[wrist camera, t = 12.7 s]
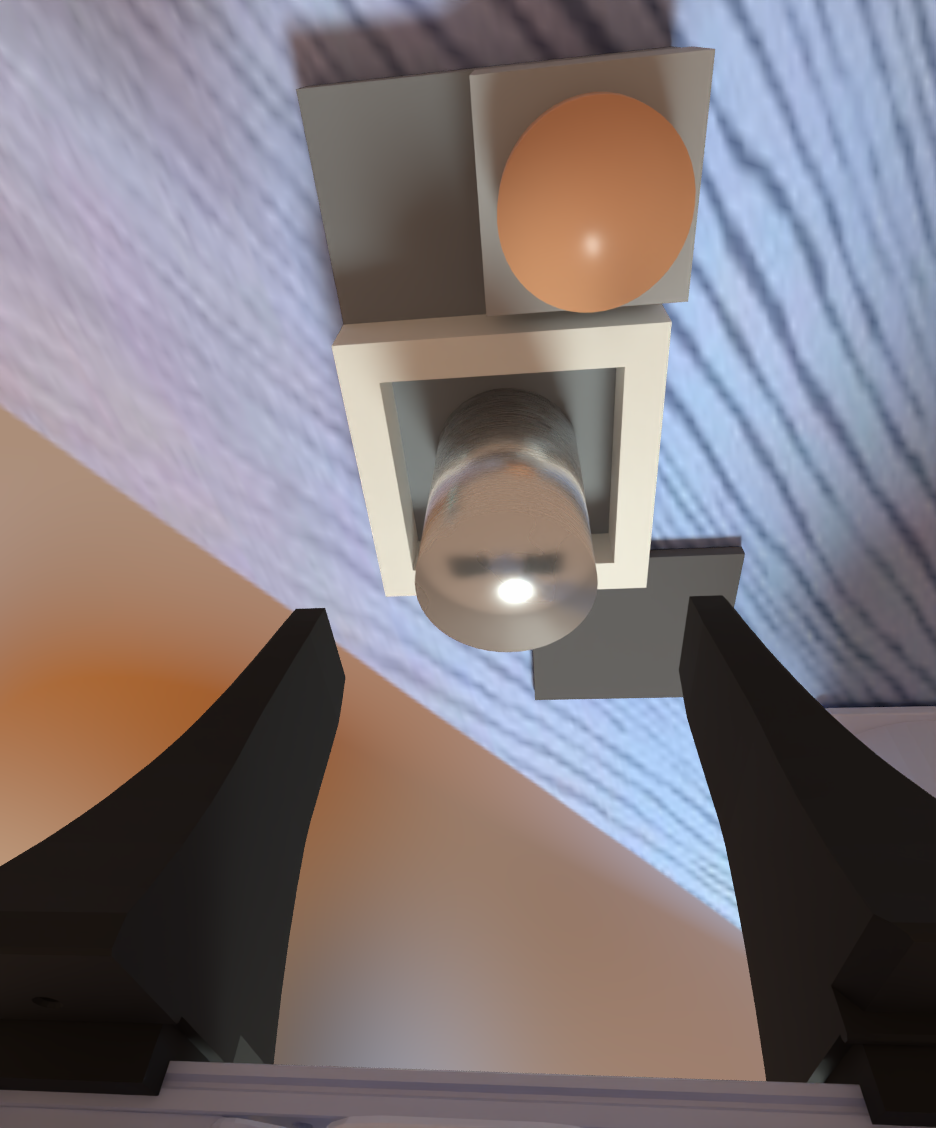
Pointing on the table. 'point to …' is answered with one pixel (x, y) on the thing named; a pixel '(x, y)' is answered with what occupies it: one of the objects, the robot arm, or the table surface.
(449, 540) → the billet
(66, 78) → the table surface
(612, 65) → the station
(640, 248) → the button
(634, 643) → the mat
